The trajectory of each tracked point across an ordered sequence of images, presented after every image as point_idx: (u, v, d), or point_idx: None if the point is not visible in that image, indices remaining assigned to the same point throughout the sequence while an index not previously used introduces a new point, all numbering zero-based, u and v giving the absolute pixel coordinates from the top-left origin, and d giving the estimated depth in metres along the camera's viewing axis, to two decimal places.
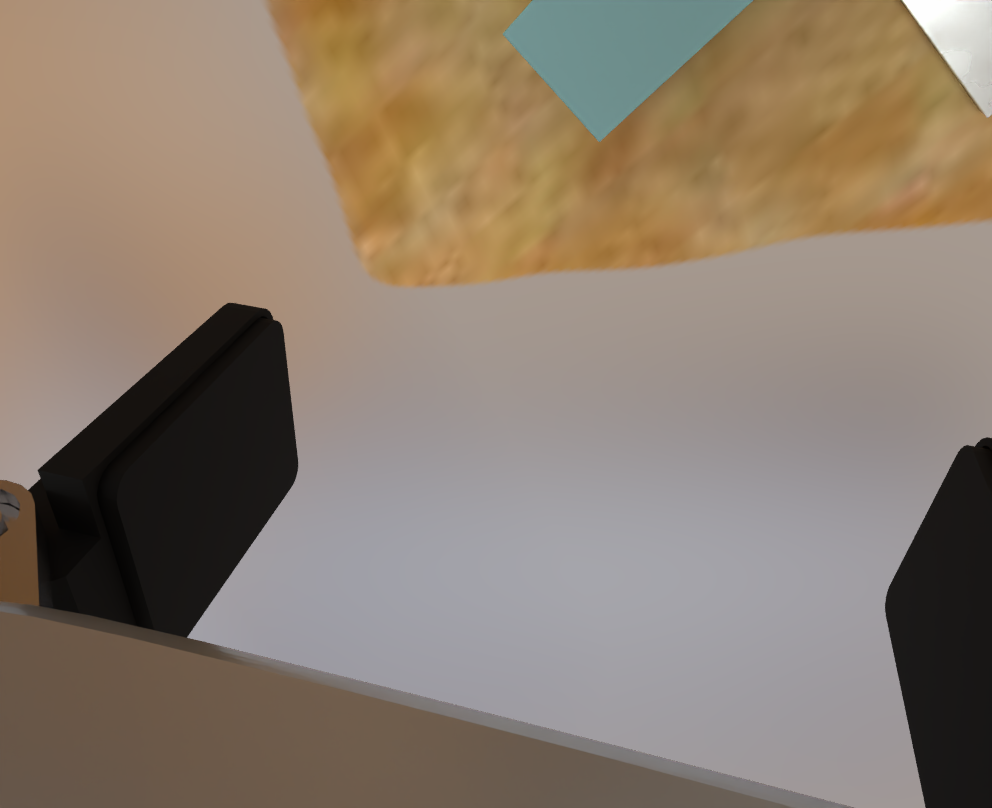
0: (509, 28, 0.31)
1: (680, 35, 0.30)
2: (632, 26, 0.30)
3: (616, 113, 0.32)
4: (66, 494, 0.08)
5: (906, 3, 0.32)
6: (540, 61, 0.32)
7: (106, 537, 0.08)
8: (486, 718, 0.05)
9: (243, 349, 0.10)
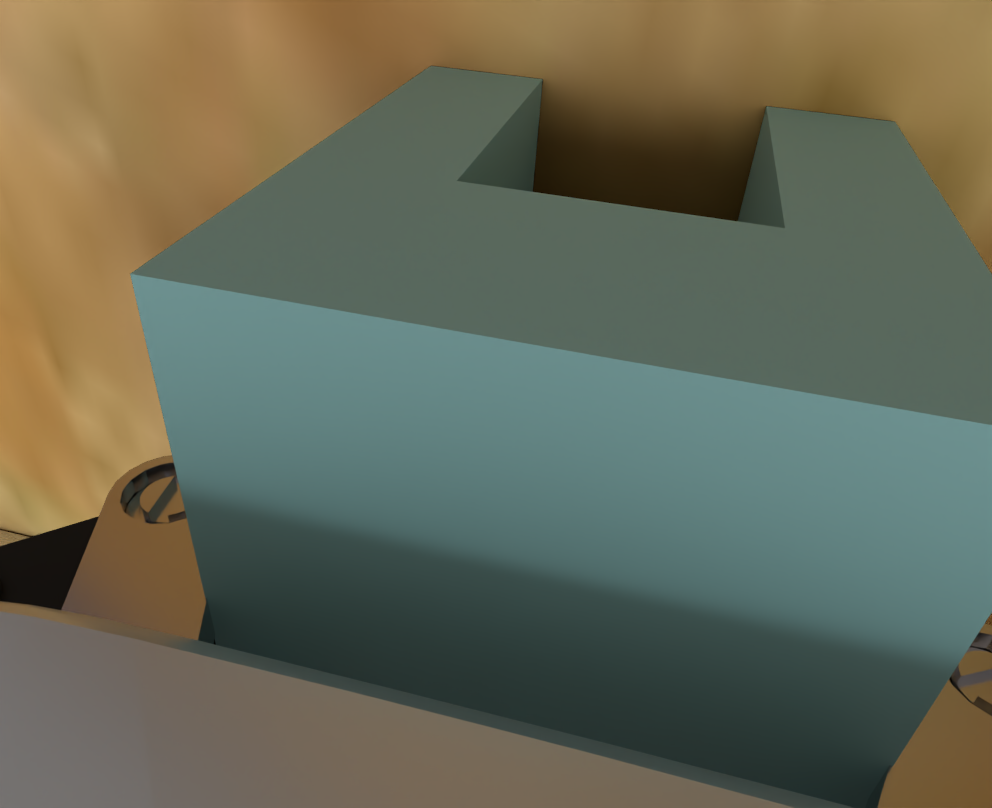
0: None
1: None
2: None
3: (209, 439, 0.06)
4: None
5: None
6: (738, 437, 0.05)
7: None
8: (486, 717, 0.05)
9: None
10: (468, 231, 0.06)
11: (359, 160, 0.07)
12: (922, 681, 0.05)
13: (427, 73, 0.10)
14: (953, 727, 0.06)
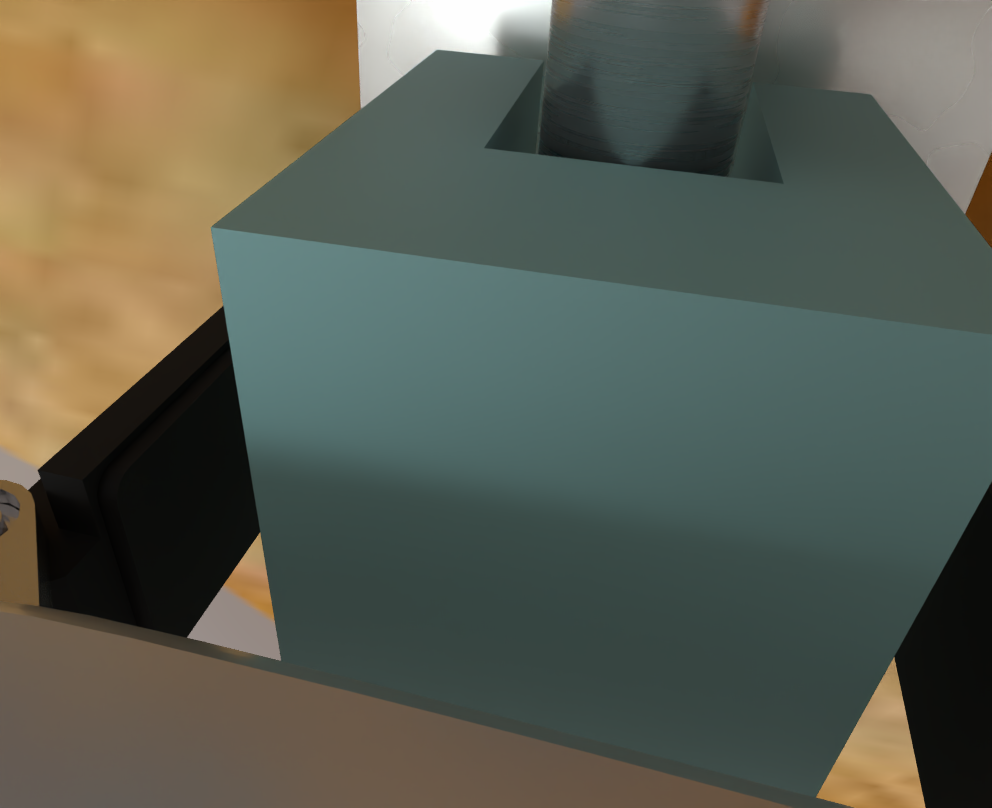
0: None
1: (357, 675, 0.09)
2: (503, 636, 0.08)
3: (274, 381, 0.06)
4: (66, 494, 0.08)
5: None
6: (760, 355, 0.05)
7: (106, 537, 0.08)
8: (486, 718, 0.05)
9: None
10: (503, 189, 0.07)
11: (390, 131, 0.08)
12: (919, 574, 0.06)
13: (435, 56, 0.11)
14: None
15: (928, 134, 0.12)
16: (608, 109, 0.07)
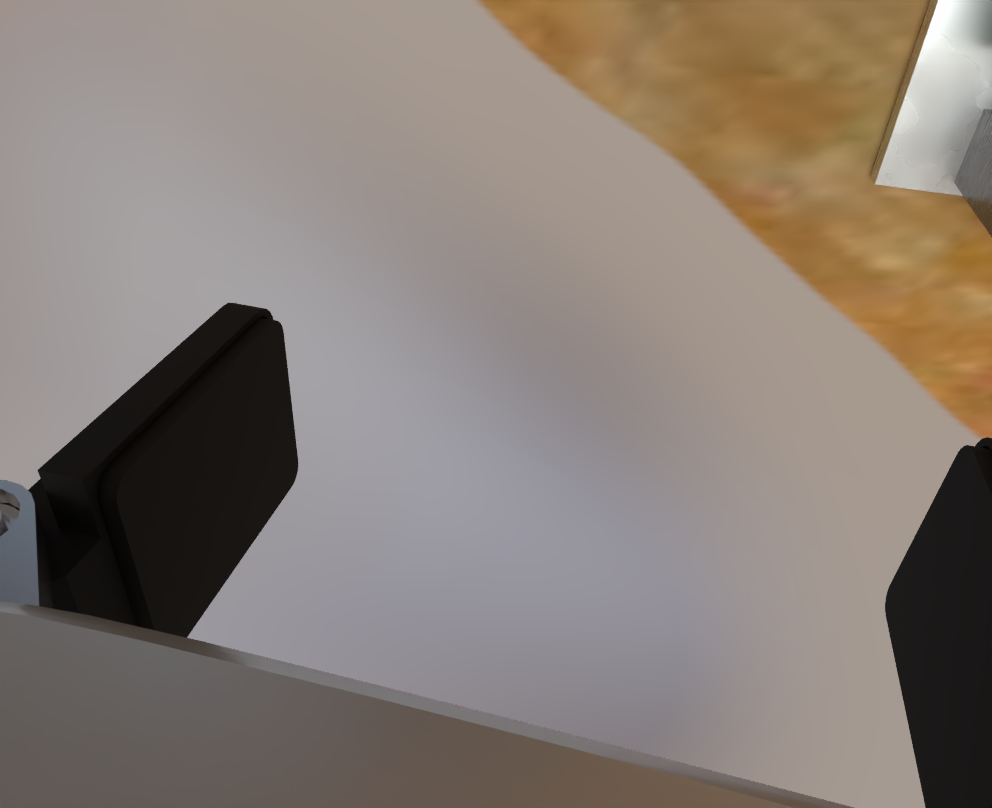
0: None
1: None
2: None
3: None
4: (66, 494, 0.08)
5: (930, 27, 0.30)
6: None
7: (106, 537, 0.08)
8: (486, 718, 0.05)
9: (243, 349, 0.10)
10: None
11: None
12: None
13: None
14: None
15: None
16: None
